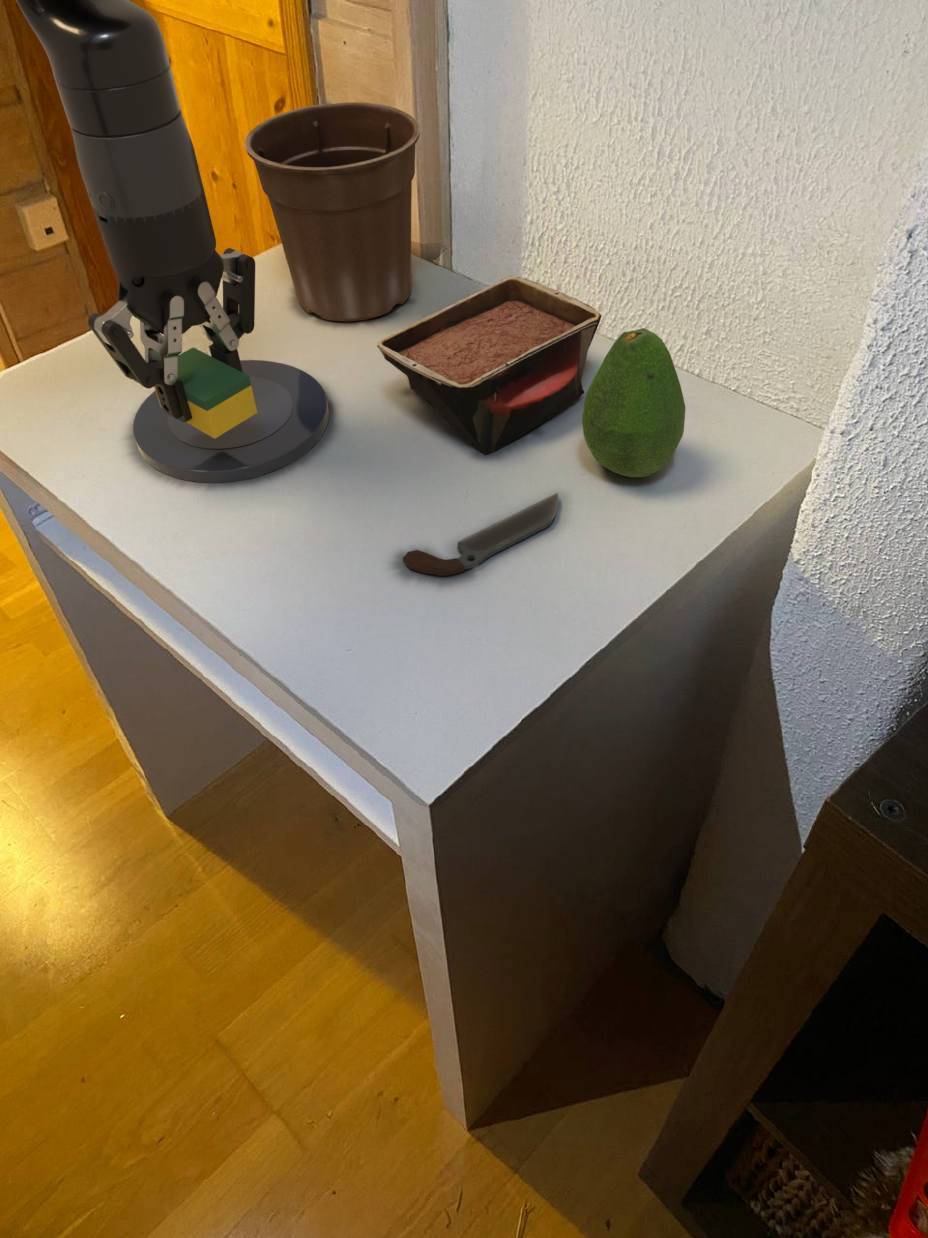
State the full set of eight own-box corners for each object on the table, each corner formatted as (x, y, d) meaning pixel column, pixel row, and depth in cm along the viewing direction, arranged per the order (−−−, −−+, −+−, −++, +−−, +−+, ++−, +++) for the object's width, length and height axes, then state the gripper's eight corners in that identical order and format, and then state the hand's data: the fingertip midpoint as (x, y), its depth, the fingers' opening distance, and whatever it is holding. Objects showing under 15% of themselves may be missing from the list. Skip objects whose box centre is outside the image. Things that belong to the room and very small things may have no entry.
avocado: (635, 428, 80) (651, 298, 71) (695, 476, 75) (720, 343, 66) (559, 459, 77) (566, 328, 68) (616, 511, 72) (631, 377, 64)
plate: (220, 510, 74) (216, 497, 73) (97, 432, 82) (93, 420, 81) (368, 412, 83) (366, 400, 82) (244, 351, 90) (241, 339, 90)
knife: (429, 591, 67) (429, 584, 66) (400, 560, 69) (399, 553, 69) (578, 514, 72) (579, 508, 72) (547, 488, 74) (547, 482, 74)
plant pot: (288, 346, 91) (256, 177, 79) (265, 272, 102) (234, 114, 90) (447, 318, 94) (439, 151, 82) (409, 249, 104) (397, 92, 92)
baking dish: (378, 411, 86) (356, 323, 78) (525, 322, 91) (519, 230, 83) (473, 496, 79) (460, 410, 71) (627, 394, 84) (631, 302, 76)
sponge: (214, 439, 73) (204, 401, 70) (160, 407, 76) (148, 370, 74) (258, 412, 75) (249, 375, 73) (203, 383, 78) (193, 346, 76)
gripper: (194, 142, 68) (243, 350, 80) (22, 211, 61) (105, 427, 73) (262, 166, 64) (302, 379, 77) (88, 242, 57) (163, 463, 70)
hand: (206, 401), depth 75 cm, fingers closed on sponge, 4 cm apart
